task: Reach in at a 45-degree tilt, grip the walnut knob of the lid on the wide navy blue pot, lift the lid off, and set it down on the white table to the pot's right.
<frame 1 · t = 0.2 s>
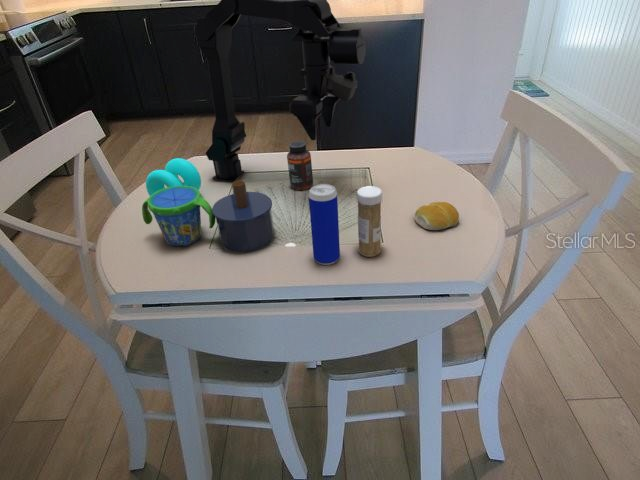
hand: (321, 133, 107), 15 cm above the table, tool pointing down, fingers open, 9 cm apart
supplement bottle: (301, 186, 118), on the table
spice jar: (369, 252, 91), on the table
beverage can: (326, 259, 90), on the table
donuts: (178, 202, 114), on the table
snack cup: (184, 238, 100), on the table
lid: (242, 207, 94), point 7 cm above the table, touching navy blue pot
navy blue pot: (247, 237, 98), on the table
bread roll: (435, 222, 99), on the table
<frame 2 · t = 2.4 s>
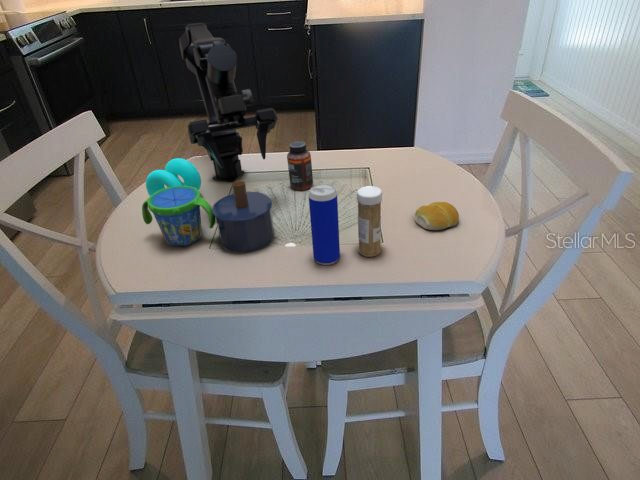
hand: (243, 163, 98), 14 cm above the table, tool tilted 40°, fingers open, 9 cm apart
nothing on the table moved.
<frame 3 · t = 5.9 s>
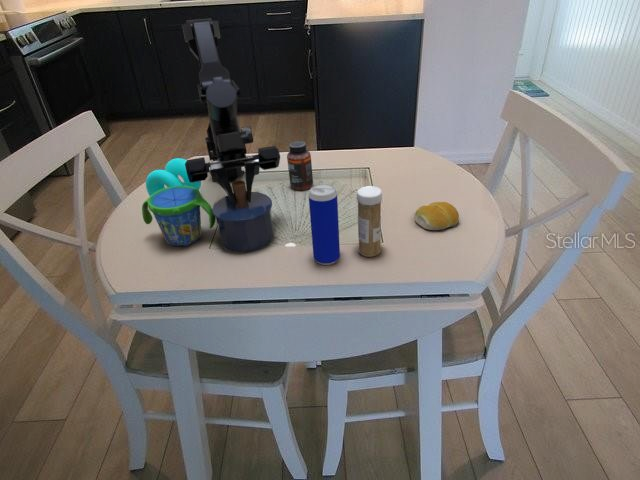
hand: (242, 203, 92), 9 cm above the table, tool tilted 45°, fingers closed on lid, 3 cm apart
lid: (242, 207, 94), point 7 cm above the table, touching navy blue pot, gripper
everything else where it was.
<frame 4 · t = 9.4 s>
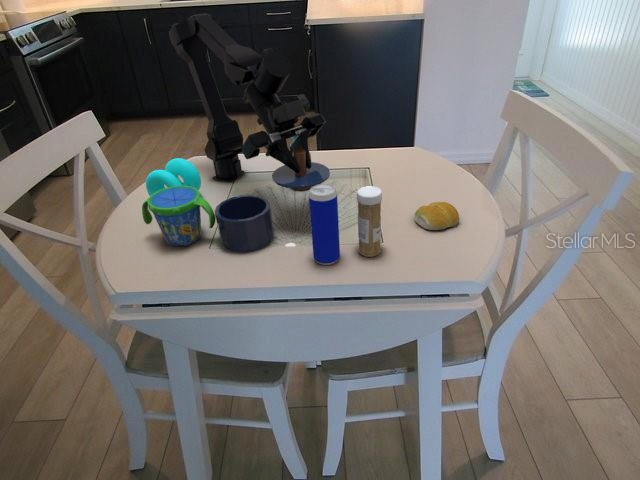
hand: (304, 170, 95), 12 cm above the table, tool tilted 45°, fingers closed on lid, 3 cm apart
lid: (301, 175, 97), point 11 cm above the table, touching gripper
everything else where it was.
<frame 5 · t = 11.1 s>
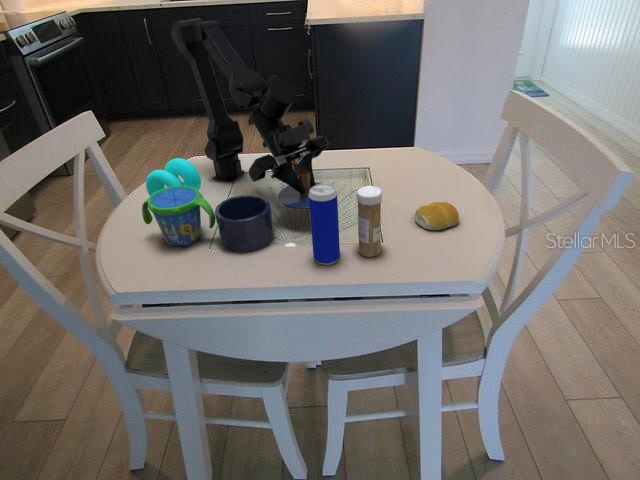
hand: (309, 191, 99), 7 cm above the table, tool tilted 45°, fingers closed on lid, 3 cm apart
lid: (305, 196, 100), point 6 cm above the table, touching gripper
everything else where it was.
when the fingers open (2 cm above the table, at t = 12.8 s): lid stays where it is, point 1 cm above the table.
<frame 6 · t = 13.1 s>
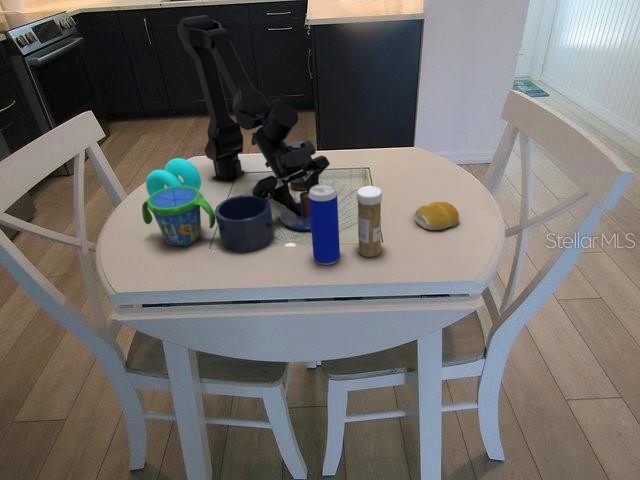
hand: (311, 210, 101), 3 cm above the table, tool tilted 45°, fingers open, 6 cm apart
lid: (307, 215, 103), point 1 cm above the table
everything else where it was.
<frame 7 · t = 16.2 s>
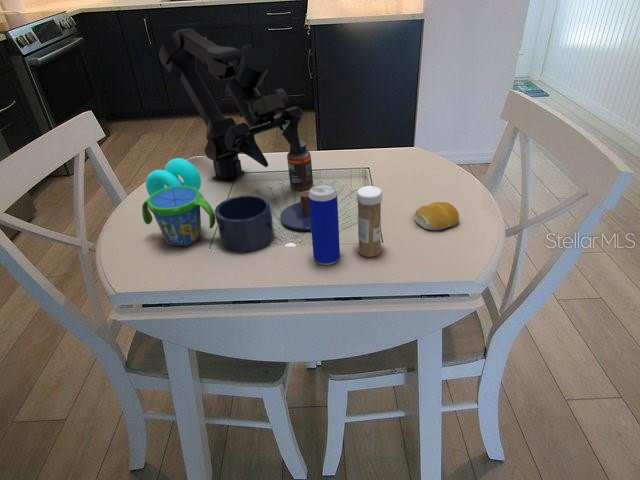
hand: (284, 159, 101), 12 cm above the table, tool tilted 45°, fingers open, 9 cm apart
nothing on the table moved.
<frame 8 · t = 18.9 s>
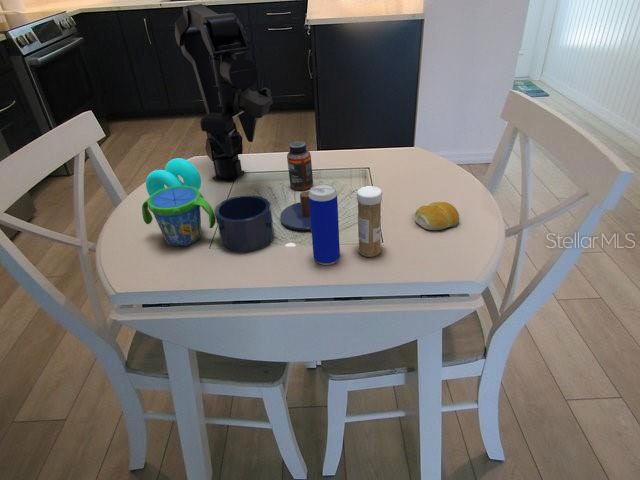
hand: (240, 148, 106), 13 cm above the table, tool pointing down, fingers open, 9 cm apart
nothing on the table moved.
at the end: lid inside the target area (0.3 cm from its centre), point 0.6 cm above the table; lid touching table; lid tilted 0° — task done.
